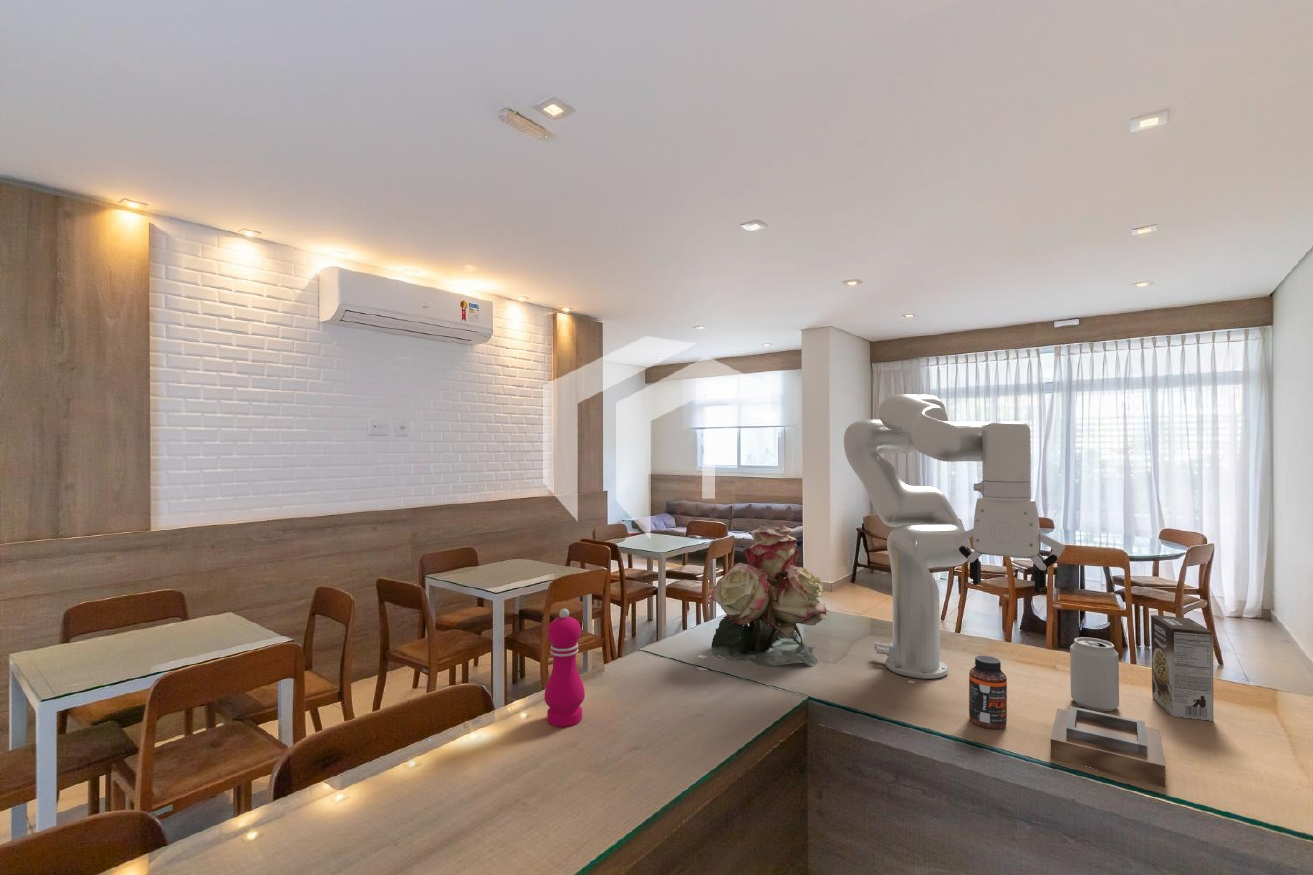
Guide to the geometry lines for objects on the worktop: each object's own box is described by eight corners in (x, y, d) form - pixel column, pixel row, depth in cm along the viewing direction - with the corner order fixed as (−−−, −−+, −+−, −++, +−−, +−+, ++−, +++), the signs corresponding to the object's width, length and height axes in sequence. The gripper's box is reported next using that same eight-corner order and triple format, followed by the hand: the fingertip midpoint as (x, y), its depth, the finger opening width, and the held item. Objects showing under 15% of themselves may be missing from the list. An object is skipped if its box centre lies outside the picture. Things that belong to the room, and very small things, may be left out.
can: (1127, 715, 113) (1127, 648, 113) (1081, 711, 114) (1081, 646, 114) (1106, 698, 120) (1106, 636, 120) (1063, 695, 122) (1063, 634, 122)
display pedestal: (1050, 757, 98) (1050, 729, 98) (1057, 725, 109) (1057, 699, 109) (1165, 786, 89) (1165, 755, 89) (1160, 748, 101) (1159, 720, 101)
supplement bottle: (993, 733, 106) (992, 667, 106) (961, 719, 111) (961, 656, 111) (1014, 725, 109) (1014, 661, 109) (983, 712, 114) (982, 651, 114)
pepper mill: (591, 713, 115) (590, 605, 115) (573, 730, 108) (573, 615, 108) (556, 708, 117) (556, 602, 117) (537, 725, 110) (536, 612, 110)
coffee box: (1150, 697, 120) (1149, 614, 121) (1191, 701, 118) (1189, 616, 118) (1171, 717, 112) (1170, 627, 112) (1215, 722, 110) (1214, 630, 110)
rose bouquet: (702, 663, 141) (701, 531, 141) (736, 627, 168) (735, 516, 168) (818, 679, 131) (817, 536, 131) (834, 638, 158) (833, 520, 158)
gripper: (948, 490, 113) (949, 584, 113) (1061, 495, 102) (1062, 599, 102) (958, 487, 119) (959, 577, 118) (1066, 492, 108) (1067, 590, 108)
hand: (1006, 587), depth 110 cm, fingers open, 9 cm apart
